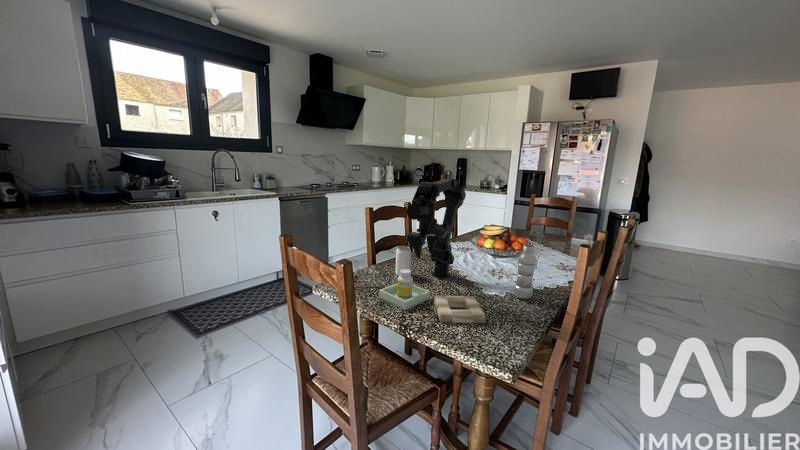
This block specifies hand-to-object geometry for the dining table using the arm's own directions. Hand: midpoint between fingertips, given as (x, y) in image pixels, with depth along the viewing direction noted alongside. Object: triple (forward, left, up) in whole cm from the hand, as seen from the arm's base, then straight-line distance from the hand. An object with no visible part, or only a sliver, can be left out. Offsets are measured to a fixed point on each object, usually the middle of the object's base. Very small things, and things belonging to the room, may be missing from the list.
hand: (424, 255), depth 121 cm
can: (-4, -15, -13) cm, 20 cm away
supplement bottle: (+13, +2, -13) cm, 18 cm away
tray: (+13, +2, -13) cm, 18 cm away
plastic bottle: (-21, +31, -13) cm, 40 cm away
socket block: (+7, +21, -13) cm, 26 cm away
